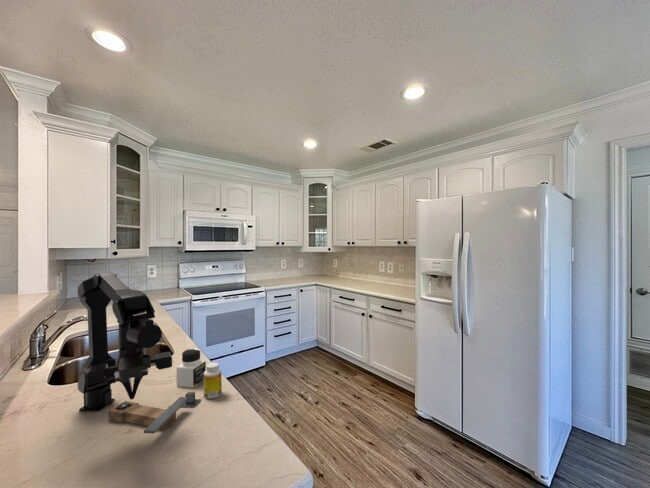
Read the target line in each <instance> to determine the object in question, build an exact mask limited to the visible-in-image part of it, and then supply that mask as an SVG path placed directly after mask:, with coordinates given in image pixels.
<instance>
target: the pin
mask: <svg viewBox="0 0 650 488" xmlns="http://www.w3.org/2000/svg"><path fill="white" fill-rule="evenodd" d="M121 403H122V404H121ZM121 403H119V404H120V405H119V404H118V405H119V406H118V408H120V410H121V411H123V410H125V409H127V408H128V406H129V403H128V402H126V403H123V402H121Z"/></svg>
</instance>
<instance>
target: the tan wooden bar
mask: <svg viewBox="0 0 650 488" xmlns="http://www.w3.org/2000/svg"><path fill="white" fill-rule="evenodd" d="M126 402H128V403H129V406H128V408H127V409H125V410H123V411H121V410H120V408H118V406H119V405H120V404H122V403H126ZM165 410H167V409H164V408H161V407H160V408H159V407H154V406H148V405H142V404H139V402H134V401H129V400H128V401H127V400H124V401H123V402H120V403H119V404H118V405H115V406H113V408H111V409H109V410H108V412H107V413H108V414H107V419H108V420H109V421H113V422H118V423H124V422H128V423H132V424H137V425H141V426H147V427H148V426H149V425H150V424H151V423H153V422H154V421H155V420H156V419H157V418H158V417H159V416H160V415H161V414H162V413H163V412H164V411H165ZM176 421H177V411H176V412H175V413H174V414H173V415H172V416H171V417H170V418H169V419H168V420H167V421H166V422H165V423H164V424H163V425H162V426H161V427H160V428H159V429H162V430H165V429H167V428H168V427H170V426H171V425H173V423H175V422H176Z"/></svg>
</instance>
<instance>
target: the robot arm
mask: <svg viewBox="0 0 650 488" xmlns="http://www.w3.org/2000/svg"><path fill="white" fill-rule="evenodd" d="M77 296H78V298H79V302H80V304H82V305H83V307H85V309H86V310H87V311H86V312H87V327H88V328H87V330H88V331H87V332H88V352H89V353H88V358H87V359H86V361H85V363H84V364H83V366H82V374H80V377H79V379H78V381H77V383H76V384H77V390H78V391H79V392H80V393H81V394H82V395H83V406H82V407H81V408H79V409H78V411H79V412H95V413H96V412H99V411H101V410H102V409H105V407H107V406H109V405H111V403H113V402H114V401H115V400H116V399H115V398H112V395H113V393H112V389H111V388H112V387H111V385H113V384H116V383H118V382H120V383H121V384H122V385H123V387H124V389H125V391H126V394H127V396H128V397H129V400H130V401H131V400H134V399H135V396H136V394H137V392H138V391H137V390H138V388H139V385H140V382H141V381H142V379H143V378H144V377H146V376H148V375H149V369H150V368H151V367H155V369H157V370H165V369H168V368H172V367H173V356H172V353H171V352H170V351H165V352H160V353H155V358H154V357H153V358H152V353H146V352H145V349H151V348H153V347H154V346H156V345H157V344H158V343H160V341H161V338H162V335H163V332H162V330H161V328H160V326H158V325H157V324H154V318H156V315H155V312H156V311H155V309H154V306H153V305H152V303H151V300H150V298H149V296H147V294H146V293H145V292H142V291H141V290H137V289H131V288H130V287H128V286H127V285H126V284H125V283H124V282H123V281H122V280H121V279H120V278H119V277H118V274H116V273H115V272H99V273H96V274H94V275H93V276H92V277H90V278H88V279H85V280H83V281H82V282H81V283H80V284H79V286H78V287H77ZM111 302H112V304H111V305H112V312H113V314H114V316H115V318H116V322H117V323H118V359H117V363H116V359H115V358H113V357H112V356H111V355H110V354H109V344H108V322H107V321H108V320H107V319H108V317H107V307H108V306H109V304H110V303H111ZM145 353H146V354H145ZM132 378H133V385H132V380H131V379H132Z"/></svg>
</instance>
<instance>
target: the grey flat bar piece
mask: <svg viewBox="0 0 650 488" xmlns="http://www.w3.org/2000/svg"><path fill="white" fill-rule="evenodd" d="M184 395H185V396H179V398H177V399H176V400H175V401H174V402H173V403H172V404H171V405H169V407H168V408H167V409H166V410H165V411H164V412H163V413H162V414H161V415H160V416H159V417H158V418H157V419H156V420H155V421H154V422H153V423H151V424H150V425H149V426H147V427H146V428H145V429H144V430H143V434H155V433H157V431H158V430H159V429H161V428H160V427H161V426H162V425H163V424H164V423H165V422H166V421H167V420H168V419H169V418H170V417H171V416H172V415H173V414H174V413H175V412H176V413H177V411H178V410H180V408H194V409H195V408H196V407H197V405H199V403H201V401H202V398H201V399H200V398H196V392H193V391H187V392H186V393H185V394H184Z"/></svg>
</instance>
